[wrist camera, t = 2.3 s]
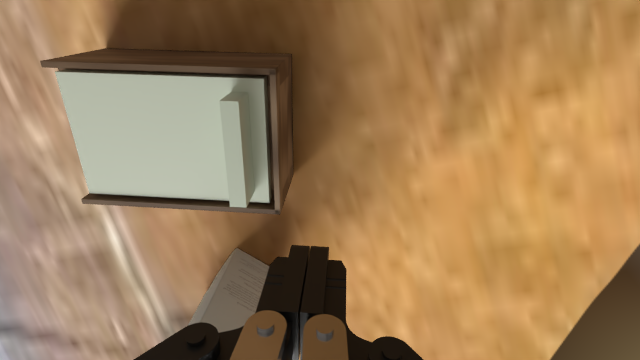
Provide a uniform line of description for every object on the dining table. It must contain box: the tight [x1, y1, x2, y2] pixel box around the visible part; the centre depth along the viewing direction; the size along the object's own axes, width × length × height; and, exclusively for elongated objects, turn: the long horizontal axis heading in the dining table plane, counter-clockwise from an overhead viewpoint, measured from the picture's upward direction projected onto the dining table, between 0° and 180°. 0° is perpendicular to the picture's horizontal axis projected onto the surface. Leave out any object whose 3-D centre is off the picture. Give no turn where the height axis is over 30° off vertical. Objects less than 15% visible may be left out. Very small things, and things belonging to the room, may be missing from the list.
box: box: [40, 48, 293, 214], centre depth 30 cm, size 11×16×7 cm
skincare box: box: [188, 248, 269, 333], centre depth 35 cm, size 8×6×15 cm
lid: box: [55, 69, 272, 208], centre depth 27 cm, size 10×15×4 cm, turn 89°
